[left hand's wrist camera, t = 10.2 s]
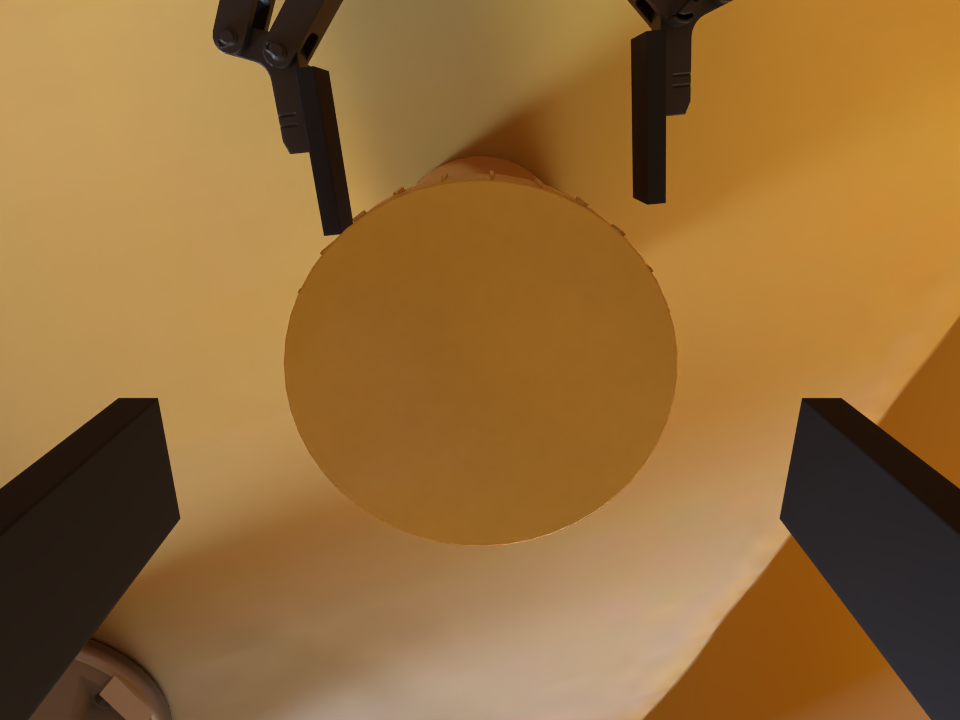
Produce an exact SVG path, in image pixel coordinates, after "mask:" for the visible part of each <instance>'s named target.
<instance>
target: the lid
mask: <svg viewBox="0 0 960 720" xmlns="http://www.w3.org/2000/svg"><path fill="white" fill-rule="evenodd" d="M393 194H394V195H393V196H391V197H389V198H388V199H386V200H384V201H382V202H381V203H379V204H377V205H376V206H375V207H373V208H372V209H371V210H369V211H368V212H367V213H366V211H365V210H364V211H362V212H361V213H360V214H358V215H357V216H356V217H355V218H353V219H352V220H353V221H354V223H353V224H352V225H350V226H349V227H348V228H347V229H345V230H344V231H343V232H342V233H341V234H340V235H339V236H338V238H337V239H336V240H335V241H333V242H332V243H331V244H329V245H328V246H327V247H326V248H324V249H323V250H322V251H321V253H320V254H321V255H322V256H321V257H320V258H319V260H318V261H317V262H316V264H315V265H314V266H313V268H312V269H311V271H310V273H309V275H308V276H307V278H306V280H305V282H304V284H303V286H302V288H301V289H299V291H298V293H299V294H298V297H297V299H296V302H295V305H294V308H293V310H292V313H291V316H290V321H289V326H288V330H287V335H286V341H285V356H284V370H285V383H286V391H287V395H288V400H289V404H290V409H291V412H292V415H293V418H294V421H295V423H296V426H297V429H298V431H299V434H300V436H301V438H302V440H303V441H304V443H305V445H306V447H307V449H308V451H309V453H310V455H311V456H312V457H313V459H314V460H315V462H316V463H317V464H318V466H319V467H320V469H321V470H322V472H323V473H324V474H325V475H326V476H327V477H328V478H329V480H330V481H331V482H332V483H333V484H334V485H335V486H336V487H337V488H338V489H339V490H340V491H341V492H342V493H343V494H344V495H345V496H347V497H348V498H349V499H350V500H351V501H352V502H354V503H355V504H356V505H357V506H359V507H360V508H362V509H363V510H365V511H366V512H368V513H369V514H371V515H372V516H374V517H375V518H377V519H379V520H381V521H383V522H385V523H387V524H389V525H391V526H393V527H395V528H397V529H399V530H402V531H405V532H407V533H410V534H412V535H415V536H418V537H422V538H426V539H430V540H433V541H437V542H442V543H449V544H457V545H466V546H493V545H505V544H513V543H518V542H523V541H528V540H533V539H536V538H539V537H542V536H546V535H549V534H552V533H555V532H557V531H559V530H562V529H564V528H566V527H568V526H571V525H573V524H575V523H577V522H579V521H580V520H582V519H584V518H585V517H587V516H589V515H591V514H592V513H594V512H596V511H597V510H598V509H600V508H601V507H602V506H604V505H605V504H606V503H607V502H609V501H610V500H611V499H613V498H614V497H615V496H616V495H617V494H618V493H619V492H620V491H621V490H622V489H623V488H624V487H625V486H626V485H627V484H628V483H629V482H631V480H632V479H633V478H634V477H635V475H636V474H637V473H638V472H639V470H640V469H641V468H642V467H643V465H644V464H645V463H646V461H647V459H648V458H649V456H650V454H651V453H652V451H653V450H654V448H655V446H656V445H657V443H658V441H659V438H660V436H661V434H662V432H663V429H664V427H665V425H666V423H667V419H668V416H669V413H670V409H671V406H672V402H673V399H674V392H675V385H676V378H677V347H676V340H675V333H674V326H673V323H672V319H671V316H670V311H669V309H668V305H667V302H666V300H665V298H664V296H663V293H662V291H661V289H660V287H659V285H658V282H657V280H656V279H655V277H654V275H653V274H652V272H653V270H652V268H651V267H649V266H648V265H647V264H646V263H645V261H644V260H643V258H642V257H641V256H640V255H639V253H638V252H637V251H636V250H635V249H634V248H633V246H632V245H631V244H630V243H629V242H628V241H627V239H626V238H625V237H624V236H625V233H624V232H623V231H621V230H620V229H619V228H618V227H616V226H615V225H614V224H612V225H610V224H609V223H608V222H606V221H605V220H604V219H603V218H601V217H600V216H599V215H598V214H596V213H595V212H594V211H593V210H591V209H590V208H588V207H587V206H588V204H587V203H586V202H585V201H583V200H582V199H581V198H579V197H577V198H576V199H574V198H573V197H571V196H569V195H567V194H565V193H562V192H560V191H558V190H556V189H554V188H552V187H550V186H547V185H544V184H543V183H542V182H541V181H540V180H539V179H536V178H535V181H531V180H528V179H524V178H518V177H512V176H507V175H501V174H494V171H489V174H465V175H455V176H448V174H447V173H446V174H443V175H442V177H441V178H439V179H435V180H431V181H427V182H423V183H420V184H418V185H415V186H413V187H410V188H408V189H405V190H404V187H401V188H399V189H398V190H397V191H396V192H395V193H393Z"/></svg>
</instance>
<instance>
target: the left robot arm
mask: <svg viewBox="0 0 960 720" xmlns="http://www.w3.org/2000/svg"><path fill="white" fill-rule="evenodd" d="M179 520H180V514H179V509H178V503H177V498H176V493H175V487H174V482H173V477H172V471H171V466H170V460H169V455H168V450H167V444H166V439H165V434H164V428H163V423H162V418H161V412H160V407H159V401H158V398H118V399H117V400H116V401H114V402H113V403H112V404H110V405H109V406H108V407H106V408H105V409H104V410H103V411H101V412H100V413H99V414H97V415H96V416H95V417H93V418H92V419H91V420H90V421H88V422H87V423H86V424H84V425H83V426H82V427H80V428H79V429H78V430H76V431H75V432H74V433H73V434H71V435H70V436H69V437H67V438H66V439H65V440H63V441H62V442H61V443H60V444H58V445H57V446H56V447H54V448H53V449H52V450H50V451H49V452H48V453H47V454H45V455H44V456H43V457H41V458H40V459H39V460H37V461H36V462H35V463H33V464H32V465H31V466H30V467H28V468H27V469H26V470H24V471H23V472H22V473H20V474H19V475H18V476H17V477H15V478H14V479H13V480H11V481H10V482H9V483H7V484H6V485H5V486H3V487H2V488H1V489H0V720H172V719H171V714H170V710H169V707H168V704H167V702H166V700H165V698H164V696H163V694H162V692H161V691H160V689H159V688H158V687H157V685H156V684H155V683H154V681H153V680H152V679H151V678H150V677H149V676H148V675H147V674H146V673H145V672H144V671H143V670H142V669H141V668H140V667H139V666H138V665H136V664H135V663H134V662H133V661H131V660H130V659H128V658H127V657H125V656H124V655H122V654H121V653H119V652H117V651H116V650H114V649H112V648H110V647H108V646H106V645H103V644H101V643H98V642H96V641H93V640H90V638H91V636H92V635H93V634H94V632H95V631H96V630H97V629H98V627H99V626H100V625H101V623H102V622H103V621H104V619H105V618H106V617H107V615H108V614H109V613H110V611H111V610H112V609H113V607H114V606H115V605H116V603H117V602H118V601H119V599H120V598H121V597H122V595H123V594H124V593H125V591H126V590H127V589H128V587H129V586H130V585H131V583H132V582H133V581H134V579H135V578H136V577H137V575H138V574H139V573H140V571H141V570H142V569H143V567H144V566H145V565H146V563H147V562H148V561H149V560H150V558H151V557H152V556H153V554H154V553H155V552H156V550H157V549H158V548H159V546H160V545H161V544H162V542H163V541H164V540H165V538H166V537H167V536H168V534H169V533H170V532H171V530H172V529H173V528H174V526H175V525H176V524H177V522H178V521H179ZM780 520H781V521H782V522H783V524H784V525H785V526H786V528H787V529H788V530H789V532H790V533H791V534H792V536H793V537H794V538H795V540H796V541H797V542H798V544H799V545H800V546H801V548H802V549H803V550H804V552H805V553H806V554H807V555H808V557H809V558H810V560H811V561H812V562H813V563H814V565H815V566H816V567H817V569H818V570H819V571H820V573H821V574H822V575H823V577H824V578H825V579H826V581H827V582H828V583H829V585H830V586H831V587H832V589H833V590H834V591H835V593H836V594H837V595H838V597H839V598H840V599H841V601H842V602H843V603H844V605H845V606H846V607H847V609H848V610H849V611H850V613H851V614H852V615H853V617H854V618H855V619H856V620H857V622H858V623H859V625H860V626H861V627H862V629H863V630H864V631H865V632H866V634H867V635H868V636H869V638H870V639H871V640H872V642H873V643H874V644H875V646H876V647H877V648H878V650H879V651H880V652H881V654H882V655H883V656H884V658H885V659H886V660H887V662H888V663H889V664H890V666H891V667H892V668H893V670H894V671H895V672H896V674H897V675H898V676H899V678H900V679H901V680H902V682H903V683H904V684H905V686H906V687H907V688H908V690H909V691H910V692H911V694H912V695H913V696H914V697H915V699H916V700H917V701H918V703H919V704H920V705H921V707H922V708H923V709H924V711H925V712H926V713H927V715H928V716H929V717H930V719H931V720H960V489H959V488H958V487H957V486H955V485H954V484H953V483H951V482H950V481H949V480H947V479H946V478H945V477H943V476H942V475H941V474H940V473H938V472H937V471H936V470H934V469H933V468H932V467H930V466H929V465H928V464H926V463H925V462H924V461H923V460H921V459H920V458H919V457H917V456H916V455H915V454H913V453H912V452H911V451H910V450H908V449H907V448H906V447H904V446H903V445H902V444H900V443H899V442H898V441H897V440H895V439H894V438H893V437H891V436H890V435H889V434H887V433H886V432H885V431H884V430H882V429H881V428H880V427H878V426H877V425H876V424H874V423H873V422H872V421H870V420H869V419H868V418H867V417H865V416H864V415H863V414H861V413H860V412H859V411H857V410H856V409H855V408H854V407H852V406H851V405H850V404H848V403H847V402H846V401H844V400H843V399H842V398H802V402H801V407H800V412H799V418H798V423H797V428H796V434H795V439H794V444H793V450H792V455H791V460H790V466H789V471H788V477H787V482H786V487H785V493H784V498H783V503H782V509H781V514H780Z"/></svg>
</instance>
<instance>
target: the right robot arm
mask: <svg viewBox="0 0 960 720" xmlns="http://www.w3.org/2000/svg"><path fill="white" fill-rule="evenodd" d="M342 1H343V0H285V2H284V4H283V6H282V8H281V10H280V12H279V14H278V16H277V18H276V19H275V21H274V23H273V25H272V27H271V29H270V31H269V32H268V28H269V24H270V20H271V16H272V12H273V8H274V4H275V0H220V1H219V6H218V10H217V15H216V20H215V24H214V29H213V40H214V43H215V45H216V46H217V48H218V49H219V50H220V51H222V52H223V53H225V54H229V55H232V56H236V57H240V58H243V59H247V60H251V61H254V62H257V63H259V64H261V65H262V66H263V67H264V68H265V69H266V70H267V71H268V73H269V75H270V77H271V81H272V86H273V91H274V96H275V102H276V107H277V112H278V116H279V123H280V126H281V133H282V139H283V142H284V144H285V146H286V148H287V149H288V151H289V153H290V154H295V153H305V152H309V153H310V159H311V165H312V170H313V176H314V182H315V187H316V193H317V198H318V204H319V210H320V215H321V221H322V227H323V232H324V236H327V235H338V234H341V233H342V232H343V231H344V230H345V229H347V228H348V227H349V226H350V225H352V224H353V220H352V213H351V207H350V200H349V194H348V188H347V182H346V176H345V169H344V163H343V157H342V151H341V145H340V138H339V132H338V126H337V120H336V113H335V107H334V101H333V95H332V89H331V82H330V76H329V71H326V70H323V69H320V68H317V67H314V66H311V67H310V66H309V65H308V63H309V61H310V59H311V57H312V56H313V54H314V52H315V50H316V48H317V46H318V45H319V43H320V41H321V39H322V37H323V36H324V34H325V32H326V30H327V28H328V27H329V25H330V23H331V21H332V19H333V17H334V16H335V14H336V12H337V10H338V8H339V7H340V5H341V3H342ZM628 1H629V2H630V4H631V5H632V6H633V7H634V8H635V10H636V11H637V12H638V13H639V14H640V16H641V17H642V18H643V19H644V20H645V22H646V23H647V24H648V25H649V26H650V28H651V29H652V31H646V32H644V33H642V34H640V35H639V36H637V37H635V38H633V39H631V78H632V153H633V198H635V199H637V200H639V201H641V202H643V203H645V204H647V205H649V204H659V203H666V116H673V115H682V114H685V113H686V111H687V108H688V105H689V103H690V87H691V86H690V84H691V75H690V73H691V35H692V30H693V27H694V25H695V23H696V22H697V21H698V20H699V18H700V17H702V16H703V15H705V14H707V13H709V12H711V11H713V10H715V9H717V8H718V7H720V6H722V5H724V4H726V3H728V2H730V1H732V0H628Z"/></svg>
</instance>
